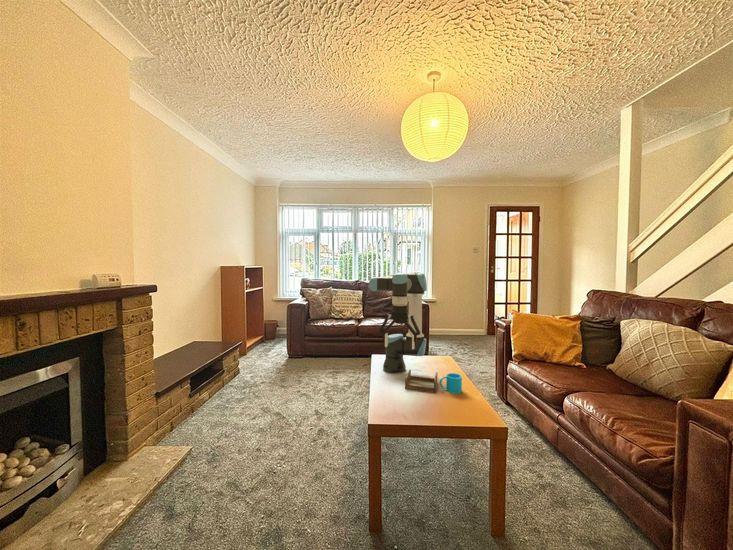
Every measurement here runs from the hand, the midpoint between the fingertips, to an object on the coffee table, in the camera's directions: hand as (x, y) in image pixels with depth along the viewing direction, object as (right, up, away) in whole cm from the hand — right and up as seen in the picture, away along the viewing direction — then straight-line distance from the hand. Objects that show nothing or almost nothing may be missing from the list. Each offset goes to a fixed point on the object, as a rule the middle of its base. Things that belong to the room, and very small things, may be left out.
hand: (399, 347), depth 147 cm
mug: (+30, -28, +17) cm, 45 cm away
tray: (+15, -28, +24) cm, 39 cm away
